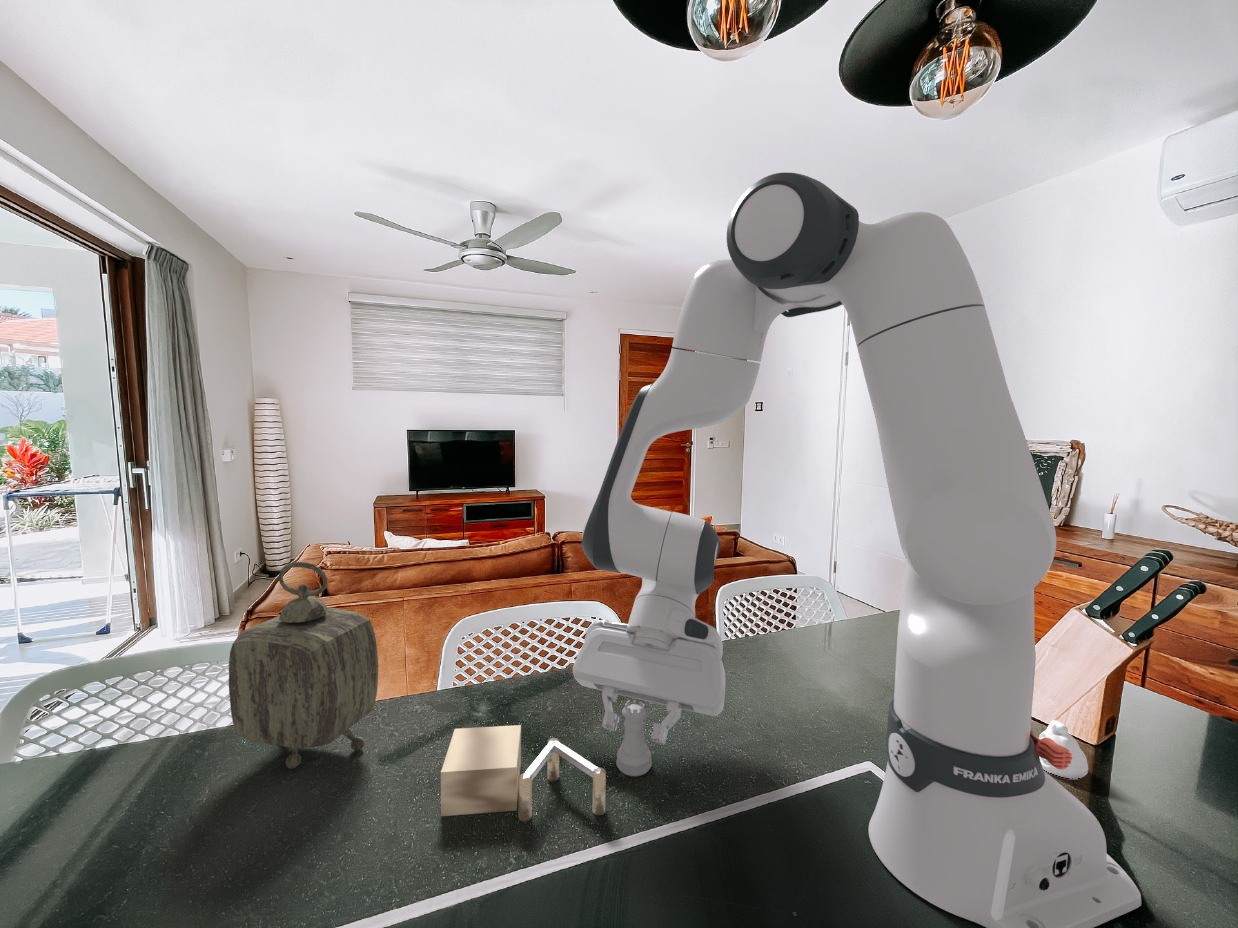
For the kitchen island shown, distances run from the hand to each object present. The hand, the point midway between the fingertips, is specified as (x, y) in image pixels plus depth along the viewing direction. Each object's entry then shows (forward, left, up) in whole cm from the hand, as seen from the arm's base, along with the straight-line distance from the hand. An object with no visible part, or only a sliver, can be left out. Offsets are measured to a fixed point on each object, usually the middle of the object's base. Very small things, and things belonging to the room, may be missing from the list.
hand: (632, 735), depth 64 cm
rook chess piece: (0, -1, -5) cm, 5 cm away
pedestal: (+18, +1, -4) cm, 18 cm away
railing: (+10, +3, -4) cm, 11 cm away
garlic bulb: (-54, +5, -5) cm, 54 cm away
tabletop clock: (+41, -7, -5) cm, 41 cm away
